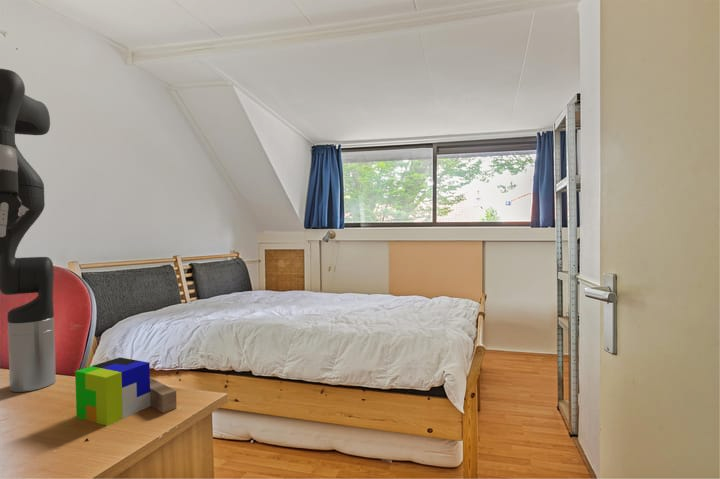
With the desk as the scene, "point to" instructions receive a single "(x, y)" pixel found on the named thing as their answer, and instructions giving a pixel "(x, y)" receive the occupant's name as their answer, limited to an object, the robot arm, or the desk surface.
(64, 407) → the desk surface
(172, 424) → the desk surface
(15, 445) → the desk surface
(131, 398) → the puzzle toy
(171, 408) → the block
